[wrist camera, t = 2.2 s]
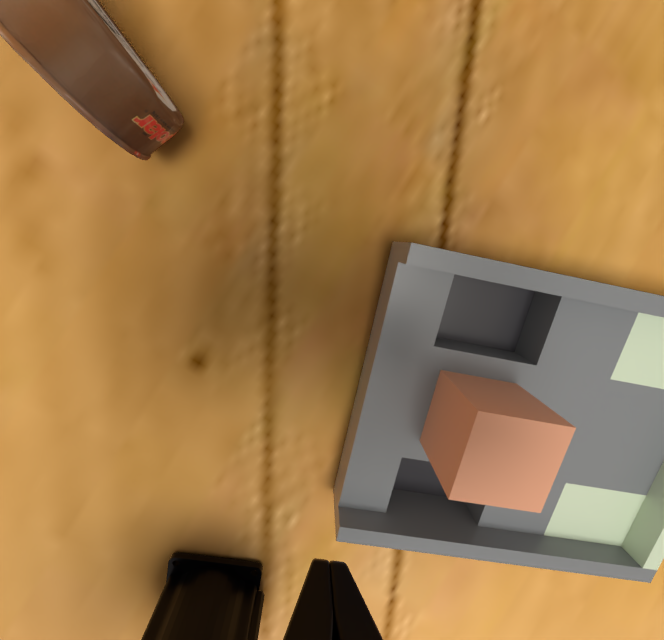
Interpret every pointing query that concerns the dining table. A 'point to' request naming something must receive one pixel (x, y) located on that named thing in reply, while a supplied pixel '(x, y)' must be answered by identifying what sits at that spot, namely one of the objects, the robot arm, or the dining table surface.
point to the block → (493, 442)
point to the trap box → (536, 378)
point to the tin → (92, 69)
